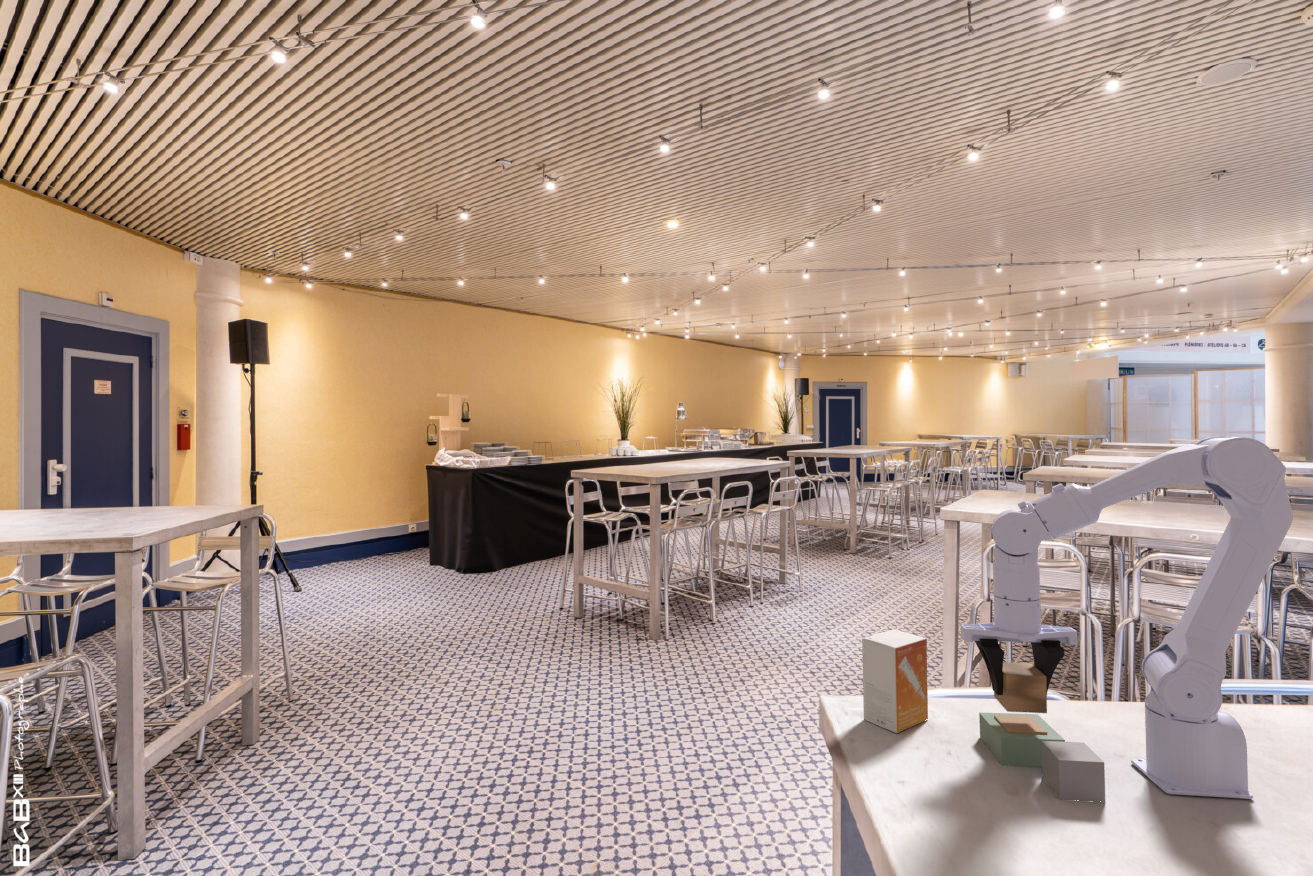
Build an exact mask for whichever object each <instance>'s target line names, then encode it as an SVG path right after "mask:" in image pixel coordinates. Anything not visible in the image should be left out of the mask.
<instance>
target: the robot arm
mask: <svg viewBox="0 0 1313 876" xmlns="http://www.w3.org/2000/svg"><path fill="white" fill-rule="evenodd" d="M1286 470H1287V467H1286V465H1285V464H1284V463H1283V462H1282V460H1280V458H1278V456H1277V455H1276V454H1275V453H1274V452H1273V450H1272V449H1271V448H1270V447H1269V446H1268V445H1267V444H1265V443H1264V442H1262V441H1261V440H1258V439H1255V438H1253V437H1245V436H1237V437H1226V436H1210V437H1206V438H1203V439H1200V440H1199V441H1197V442H1196V443H1195V444H1192V443H1189V444H1186V445H1182V446H1179V447H1175V448H1173V449H1170V450H1168V451H1165V452H1162V453H1160V454H1157V455H1155V456H1152V457H1150V458H1149V459H1147V460H1144V461H1142V462H1141V463H1138V464H1135V465H1134V466H1131V467H1129V468H1127V469H1125V470H1123V471H1121V472H1118V473H1116V474H1114V475H1111V476H1110V477H1108V478H1106V479H1103V480H1102V481H1099V482H1097V483H1095V484H1092V485H1091V486H1088V487H1087V486H1084V485H1080V484H1076V483H1070V484H1068V485H1065V486H1064V484H1062V483H1058V484H1056V485H1054V486H1052V487H1051V489H1052V491H1051V492H1049V493H1046V494H1044V495H1043V496H1040V497H1038V498H1036V499H1033V500H1031V501H1028V502H1027V503H1026V501H1025V500H1022V501H1020V502H1018V503H1017V506H1018V508H1019V509H1012V508H1011V509H1007V510H1004V511H1001V512H999V513H998V515H996V516H995V518H994V519H993V521H992V523H991V527H990V531H991V536H992V539H993V541H994V543H995V544H994V548H993V550H992V553H993V554H992V555H993V558H994V560H993V562H992V574H993V575H992V578H993V580H992V581H993V619H994V622H985V623H984V622H983V623H973V624H960V638H961V640H963V642H965V643H973V641H974V643H975V645H976V647H977V648H978V650H979V652H980V655H981V656H982V659H983V662H984V663H985V666H986V669H987V672H988V676H989V678H990V682H991V688H992V689H991V690H992V691H993V693H994V692H995V693H996V694H997V695H1003V676H1002V671H1003V662H1004V658H1005V654H1006V653H1005V651H1004V649H1002V648H1001V644H1000V643H999V642H1007V643H1008V642H1009V643H1010V642H1013V643H1014V642H1015V643H1030V645H1031V651H1032V655H1033V656H1032V657H1033V665H1034V666H1035V667H1036V668H1037V669H1038V670H1039V671H1040V672H1042V673H1043V674H1044V675H1045V676H1046V689H1047V693H1048V692H1049V687H1050V685H1051V680H1052V678H1053V676H1054V673H1055V671H1056V669H1057V667H1058V665H1059V664H1060V662H1061V660H1062V659H1063V658H1065V648H1064V647H1063V646H1061V644H1068V645H1070V646H1078V643H1079V642H1078V631H1077V630H1076V629H1074V628H1073V627H1071V626H1057V625H1049V624H1048V625H1047V624H1042V616H1041V615H1042V614H1041V613H1042V611H1041V582H1040V581H1041V577H1040V573H1041V571H1040V570H1041V569H1040V568H1041V567H1040V564H1039V563H1038V552H1037V551H1038V548H1039V547H1040V545H1041V542H1042V541H1047V542H1049V541H1053V540H1055V539H1058V538H1060V537H1063V536H1065V535H1067V534H1071V533H1073V532H1076V531H1078V530H1081V529H1083V528H1085V527H1088V526H1090V525H1092V524H1096V523H1097V522H1098V520H1099V518H1100V514H1101V513H1102V512H1103V509H1106V508H1107V507H1110V506H1113V505H1116V504H1118V503H1121V502H1124V501H1127V500H1130V499H1131V498H1135V497H1138V496H1140V495H1143V494H1145V493H1146V494H1147V493H1148V492H1151V491H1153V490H1156V489H1159V488H1162V487H1165V486H1168V485H1171V484H1172V485H1173V484H1174V485H1175V484H1176V485H1196V486H1197V485H1198V486H1199V485H1200V486H1203V485H1204V486H1205V487H1207V488H1209V490H1211V491H1212V492H1213V493H1214V494H1216V497H1217V498H1218V499H1219V501H1220V503H1221V504H1222V506H1223V507H1224V508H1225V510H1226V512H1227V513H1228V514H1229V516H1230V519H1229V520H1228V524H1227V525H1226V527H1225V530H1224V531H1223V533H1222V535H1221V537H1220V539H1219V541H1218V543H1217V545H1216V547H1215V549H1214V552H1213V553H1212V555H1211V557H1210V559H1209V561H1208V563H1207V565H1206V567H1205V569H1204V571H1203V572H1202V575H1201V576H1200V579H1199V582H1198V583H1197V585H1196V587H1195V590H1194V592H1193V593H1192V595H1191V597H1190V599H1189V601H1188V603H1187V605H1186V607H1185V609H1184V611H1183V614H1182V615H1181V617H1180V620H1179V621H1178V623H1177V626H1176V627H1175V628H1173V629H1172V630H1171V631H1169V632H1168V633H1167V634H1165V635H1164V637H1163V640H1162V641H1161V643H1159V645H1158V646H1157V647H1155V648H1154V649H1153V650H1151V651H1149V652H1148V653H1147V654H1145V656H1144V657H1143V659H1142V662H1141V673H1142V675H1143V678H1144V679H1145V681H1146V683H1148V685H1149V686H1150V687H1151V690H1150V691H1149V693H1148V694H1147V696H1146V697H1145V698H1144V714H1145V715H1144V716H1145V717H1144V719H1145V721H1144V722H1145V725H1144V727H1145V754H1146V755H1145V759H1144V758H1131V759H1130V763H1131V764H1132V765H1134V766H1135V767H1136V768H1137V769H1138V770H1139V771H1140V772H1142V774H1144V775H1145V776H1146V777H1147V778H1148V779H1149V780H1150V781H1152V782H1153V783H1154V784H1155V785H1156V786H1157V787H1158V788H1159V789H1160V790H1162V791H1163V792H1164V793H1166V794H1168V795H1182V796H1193V797H1194V796H1196V797H1197V796H1198V797H1211V798H1212V797H1213V798H1214V797H1215V798H1226V799H1227V798H1228V799H1229V798H1231V799H1244V800H1245V799H1246V800H1247V799H1249V800H1251V799H1254V794H1253V793H1252V792H1250V791H1249V777H1248V776H1249V774H1248V771H1249V770H1248V744H1247V743H1248V742H1247V739H1246V736H1245V732H1244V730H1243V728H1242V726H1241V724H1240V723H1239V722H1238V721H1237V719H1236V718H1234V717H1233V715H1231V714H1230V713H1228V712H1225V711H1220V709H1221V708H1222V705H1223V694H1222V684H1223V681H1224V679H1225V678H1226V677H1225V676H1226V674H1227V659H1226V657H1227V656H1226V655H1227V654H1226V653H1227V650H1228V648H1229V646H1230V644H1231V642H1232V640H1233V638H1234V636H1235V634H1236V632H1237V630H1238V628H1239V627H1240V626H1241V625H1240V624H1241V623H1242V620H1243V618H1245V615H1246V613H1247V611H1248V609H1249V607H1250V605H1251V603H1252V601H1253V599H1254V597H1255V596H1256V595H1257V592H1258V590H1259V587H1260V586H1261V584H1262V582H1263V580H1264V578H1265V577H1266V574H1267V572H1268V570H1269V568H1270V566H1271V565H1272V563H1273V561H1274V559H1275V557H1276V555H1277V553H1278V551H1279V549H1280V547H1281V545H1282V543H1283V541H1284V540H1285V537H1286V535H1287V534H1288V532H1289V529H1290V528H1291V526H1292V523H1293V520H1294V515H1293V510H1292V507H1291V501H1290V498H1289V497H1290V496H1289V494H1288V490H1287V484H1286V481H1285V476H1286Z"/></svg>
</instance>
